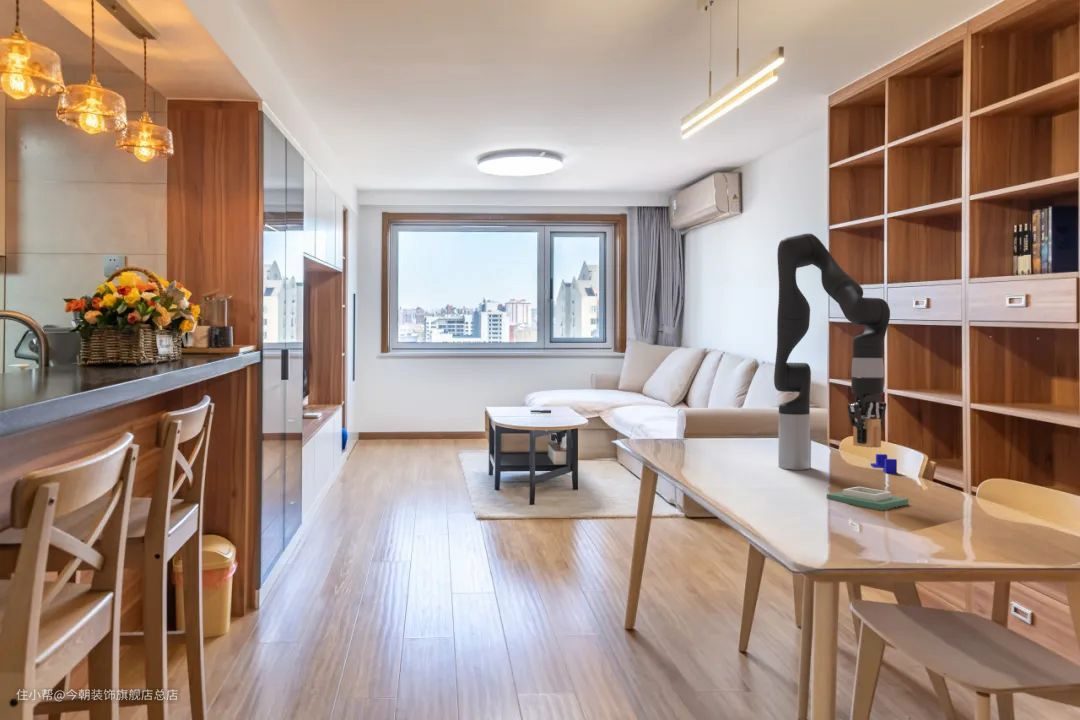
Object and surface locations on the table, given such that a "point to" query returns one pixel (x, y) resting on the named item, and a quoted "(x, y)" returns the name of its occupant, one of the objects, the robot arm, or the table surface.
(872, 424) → the tan rectangular block
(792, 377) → the robot arm
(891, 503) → the board
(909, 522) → the table surface
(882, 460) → the cable clip
